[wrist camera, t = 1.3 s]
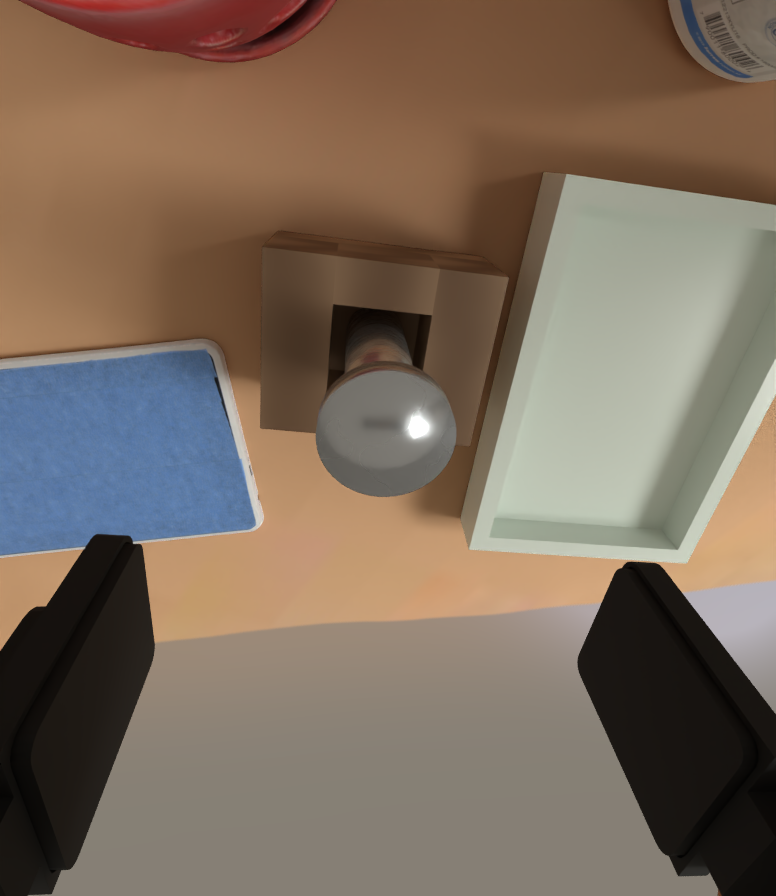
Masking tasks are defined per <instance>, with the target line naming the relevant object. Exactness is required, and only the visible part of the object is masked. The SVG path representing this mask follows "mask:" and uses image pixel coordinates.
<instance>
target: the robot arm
mask: <svg viewBox="0 0 776 896" xmlns="http://www.w3.org/2000/svg"><path fill="white" fill-rule="evenodd" d="M154 649H155V643H154V635H153V627H152V619H151V611H150V603H149V595H148V587H147V579H146V571H145V563H144V555H143V548H142V546H141V544H133V540H132V538H131V536H128V535H109V534H96V535H94V536H93V537H92V538H91V539H90V541H89V542H88V544H87V545H86V547H85V549H84V550H83V552H82V553H81V555H80V556H79V558H78V559H77V561H76V562H75V564H74V565H73V567H72V568H71V570H70V571H69V573H68V574H67V576H66V577H65V579H64V580H63V582H62V583H61V585H60V586H59V588H58V589H57V591H56V592H55V594H54V595H53V597H52V598H51V600H50V601H49V603H48V604H47V606H46V607H35V608H33V609H32V610H30V611H29V612H28V613H27V614H26V616H25V617H24V618H23V619H22V621H21V622H20V624H19V625H18V626H17V628H16V629H15V631H14V632H13V634H12V635H11V636H10V638H9V639H8V641H7V642H6V644H5V645H4V647H3V648H2V649H1V651H0V896H28V895H39V894H52V892H53V890H54V887H55V884H56V882H57V880H58V877H59V875H60V872H61V870H69V869H71V868H72V867H73V865H74V864H75V862H76V860H77V858H78V855H79V853H80V851H81V848H82V846H83V843H84V840H85V838H86V835H87V832H88V830H89V827H90V824H91V822H92V819H93V817H94V814H95V811H96V809H97V806H98V804H99V801H100V798H101V796H102V793H103V790H104V788H105V785H106V782H107V780H108V777H109V775H110V772H111V769H112V767H113V764H114V761H115V759H116V756H117V754H118V751H119V748H120V746H121V743H122V740H123V738H124V735H125V732H126V730H127V727H128V725H129V722H130V719H131V717H132V714H133V712H134V709H135V706H136V704H137V701H138V698H139V696H140V693H141V691H142V688H143V685H144V683H145V680H146V677H147V675H148V672H149V669H150V667H151V664H152V661H153V656H154ZM578 670H579V673H580V676H581V678H582V681H583V683H584V685H585V687H586V689H587V692H588V694H589V696H590V698H591V700H592V703H593V705H594V707H595V709H596V711H597V714H598V716H599V718H600V720H601V722H602V725H603V727H604V729H605V731H606V733H607V735H608V738H609V740H610V742H611V745H612V747H613V749H614V751H615V753H616V756H617V758H618V760H619V762H620V764H621V767H622V769H623V771H624V773H625V775H626V778H627V780H628V782H629V784H630V786H631V788H632V791H633V793H634V795H635V797H636V800H637V802H638V804H639V806H640V809H641V811H642V813H643V815H644V817H645V820H646V822H647V824H648V826H649V828H650V831H651V833H652V835H653V837H654V839H655V842H656V843H657V845H658V847H659V849H660V850H661V851H662V852H663V853H664V854H665V855H668V856H669V857H670V859H671V861H672V864H673V866H674V868H675V870H676V872H677V875H678V876H703V875H704V876H706V875H708V874H709V873H710V874H711V876H712V877H713V880H714V881H715V883H716V885H717V887H718V895H717V896H776V714H775V713H774V711H773V710H772V709H771V708H770V706H769V705H768V704H767V702H766V701H765V700H764V699H763V697H762V696H761V695H760V693H759V692H758V691H757V689H756V688H755V687H754V686H753V685H752V683H751V682H750V680H749V679H748V678H747V676H746V675H745V674H744V673H743V671H742V670H741V669H740V667H739V666H738V665H737V663H736V662H735V661H734V660H733V658H732V657H731V656H730V654H729V653H728V652H727V651H726V649H725V648H724V647H723V645H722V644H721V643H720V641H719V640H718V639H717V638H716V636H715V635H714V634H713V632H712V631H711V630H710V628H709V627H708V626H707V625H706V623H705V622H704V621H703V619H702V618H701V617H700V616H699V614H698V613H697V612H696V610H695V609H694V608H693V607H692V605H691V604H690V603H689V601H688V600H687V599H686V597H685V596H684V595H683V594H682V592H681V591H680V590H679V588H678V587H677V586H676V584H675V583H674V582H673V581H672V579H671V578H670V577H669V575H668V574H667V573H666V572H665V570H664V569H663V568H662V567H661V566H660V565H659V564H656V563H646V562H627V563H626V564H624V566H623V567H622V568H620V569H618V570H617V571H616V572H615V574H614V576H613V578H612V581H611V583H610V585H609V588H608V590H607V592H606V594H605V597H604V599H603V601H602V603H601V606H600V608H599V611H598V613H597V615H596V617H595V619H594V622H593V624H592V627H591V628H590V631H589V633H588V635H587V637H586V640H585V642H584V644H583V647H582V649H581V651H580V653H579V656H578Z"/></svg>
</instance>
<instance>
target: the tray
mask: <svg viewBox="0 0 776 896" xmlns="http://www.w3.org/2000/svg"><path fill="white" fill-rule="evenodd" d="M775 395H776V205H772V204H766V203H759V202H752V201H746V200H739V199H732V198H725V197H719V196H712V195H705V194H698V193H692V192H685V191H678V190H671V189H665V188H658V187H651V186H644V185H638V184H631V183H624V182H617V181H611V180H604V179H597V178H590V177H584V176H577V175H570V174H562V173H551V172H544V173H543V177H542V181H541V185H540V189H539V193H538V197H537V202H536V206H535V210H534V214H533V218H532V222H531V227H530V231H529V235H528V239H527V243H526V247H525V252H524V256H523V260H522V264H521V268H520V272H519V276H518V281H517V285H516V289H515V293H514V297H513V301H512V306H511V310H510V314H509V318H508V322H507V326H506V330H505V335H504V339H503V343H502V347H501V351H500V355H499V360H498V364H497V368H496V372H495V376H494V380H493V385H492V389H491V393H490V397H489V401H488V405H487V409H486V414H485V418H484V422H483V426H482V430H481V434H480V439H479V443H478V447H477V451H476V455H475V459H474V464H473V468H472V472H471V476H470V480H469V484H468V488H467V493H466V497H465V501H464V505H463V509H462V513H461V518H460V520H461V524H462V527H463V530H464V534H465V537H466V541H467V544H468V548H469V550H484V551H500V552H515V553H531V554H547V555H562V556H578V557H594V558H609V559H625V560H641V561H656V562H672V563H687V562H688V560H689V558H690V556H691V554H692V552H693V550H694V549H695V547H696V545H697V543H698V541H699V539H700V537H701V535H702V533H703V532H704V530H705V528H706V526H707V524H708V522H709V520H710V518H711V516H712V514H713V513H714V511H715V509H716V507H717V505H718V503H719V501H720V499H721V497H722V495H723V494H724V492H725V490H726V488H727V486H728V484H729V482H730V480H731V478H732V477H733V475H734V473H735V471H736V469H737V467H738V465H739V463H740V461H741V459H742V458H743V456H744V454H745V452H746V450H747V448H748V446H749V444H750V442H751V441H752V439H753V437H754V435H755V433H756V431H757V429H758V427H759V425H760V423H761V422H762V420H763V418H764V416H765V414H766V412H767V410H768V408H769V406H770V404H771V403H772V401H773V399H774V397H775Z"/></svg>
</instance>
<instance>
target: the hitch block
mask: <svg viewBox="0 0 776 896" xmlns="http://www.w3.org/2000/svg"><path fill="white" fill-rule="evenodd" d="M508 280H509V277H508V276H507V275H505V274H504V273H503V272H502V271H500V270H499V269H498V268H497V267H495V266H494V265H493V264H492V263H490V262H489V261H488V260H487V259H485V258H484V257H481V256H473V255H465V254H457V253H450V252H442V251H434V250H426V249H418V248H410V247H403V246H395V245H387V244H379V243H371V242H363V241H356V240H348V239H340V238H332V237H324V236H316V235H309V234H301V233H293V232H285V231H278V232H277V233H276V234H275V235H274V236H273V237H272V238H271V239H270V240H269V241H268V242H267V243H266V244H265V245H264V246H263V247H262V306H261V405H260V428H261V429H273V430H285V431H296V432H308V433H316V428H317V421H318V414H319V409H320V405H321V402H322V400H323V398H324V396H325V394H326V392H327V391H328V389H329V388H330V387H331V386H332V384H333V383H334V382H335V381H336V380H337V379H338V378H339V377H341V376H342V375H343V374H345V351H346V330H347V325H348V322H349V320H350V319H351V317H352V316H353V315H354V314H355V313H356V312H357V311H358V310H360V309H361V308H372V309H381V310H389V311H392V312H394V313H395V314H396V316H397V317H398V318H399V320H400V322H401V325H402V328H403V332H404V335H405V339H406V343H407V346H408V350H409V353H410V357H411V361H412V364H413V366H415V367H417V368H419V369H421V370H422V371H424V372H426V373H427V374H428V375H430V376H431V377H432V378H433V379H434V380H435V381H436V382H437V383H438V384H439V385H440V387H441V388H442V390H443V391H444V393H445V395H446V397H447V399H448V402H449V404H450V407H451V410H452V412H453V415H454V419H455V423H456V443H455V445H459V446H470V444H471V440H472V435H473V431H474V427H475V422H476V418H477V414H478V409H479V405H480V401H481V397H482V392H483V388H484V384H485V379H486V375H487V371H488V366H489V362H490V358H491V354H492V349H493V345H494V341H495V336H496V332H497V328H498V323H499V319H500V315H501V310H502V306H503V302H504V298H505V293H506V289H507V285H508Z"/></svg>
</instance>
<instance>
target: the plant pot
mask: <svg viewBox="0 0 776 896" xmlns="http://www.w3.org/2000/svg"><path fill="white" fill-rule="evenodd" d="M19 1H21V2H23V3H25V4H27V5H29V6H31V7H33V8H35V9H37V10H39V11H41V12H43V13H45V14H47V15H49V16H52V17H54V18H56V19H59V20H61V21H63V22H66V23H68V24H70V25H72V26H75V27H77V28H79V29H82V30H84V31H87V32H89V33H92V34H94V35H97V36H99V37H103V38H106V39H109V40H112V41H115V42H119V43H122V44H126V45H129V46H133V47H138V48H144V49H149V50H155V51H165V52H177V53H181V54H184V55H187V56H189V57H193V58H198V59H202V60H206V61H214V62H243V61H250V60H255V59H259V58H262V57H266V56H269V55H271V54H274V53H276V52H278V51H281V50H283V49H285V48H286V47H288V46H290V45H292V44H294V43H296V42H297V41H298V40H300V39H301V38H302V37H304V36H305V35H306V34H308V33H309V32H310V31H311V30H313V29H314V28H315V27H316V26H317V25H318V24H319V23H320V21H321V20H322V19H323V18H324V17H325V16H326V15H327V13H328V12H329V11H330V9H331V8H332V6H333V5H334V4H335V2H336V1H337V0H19Z"/></svg>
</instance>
